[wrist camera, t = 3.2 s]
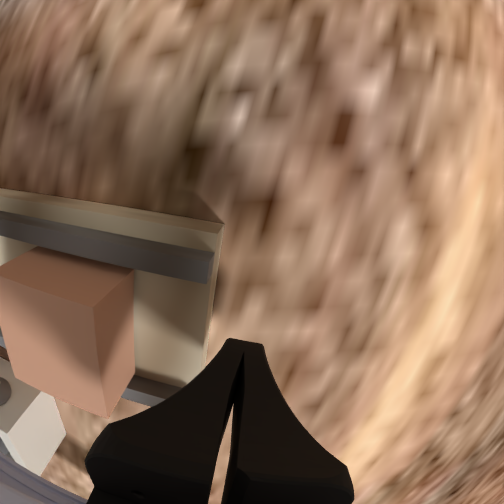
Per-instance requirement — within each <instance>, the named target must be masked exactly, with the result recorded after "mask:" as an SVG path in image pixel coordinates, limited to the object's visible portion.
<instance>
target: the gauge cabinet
mask: <svg viewBox="0 0 504 504" xmlns="http://www.w3.org/2000/svg"><path fill="white" fill-rule="evenodd" d="M65 436H66V431H65V428H64V426H63V423H62V420H61V417H60V414H59V411H58V408H57V405H56V402H55V399H54V397H53V396H51V395H49V394H47V393H44V392H42V391H40V390H38V389H36V388H34V387H32V386H30V385H28V384H26V383H25V382H23V381H21V380H19V379H17V378H15V375H14V372H13V369H12V366H11V363H10V362H9V361H7V360H5V359H3V358H2V357H0V437H1V439H2V441H3V442H4V444H5V446H6V447H7V449H8V451H9V452H8V454H7V455H6V456H7V457H8V458H10V459H12V460H13V461H15V462H16V463H18V464H20V465H21V466H23V467H24V468H26V469H28V470H30V471H31V472H33V473H35V474H36V475H38V476H40V475H41V474H42V472H43V471H44V469H45V467H46V466H47V464H48V462H49V461H50V459H51V458H52V456H53V454H54V453H55V451H56V450H57V448H58V447H59V445H60V443H61V442H62V440H63V439H64V437H65Z"/></svg>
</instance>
